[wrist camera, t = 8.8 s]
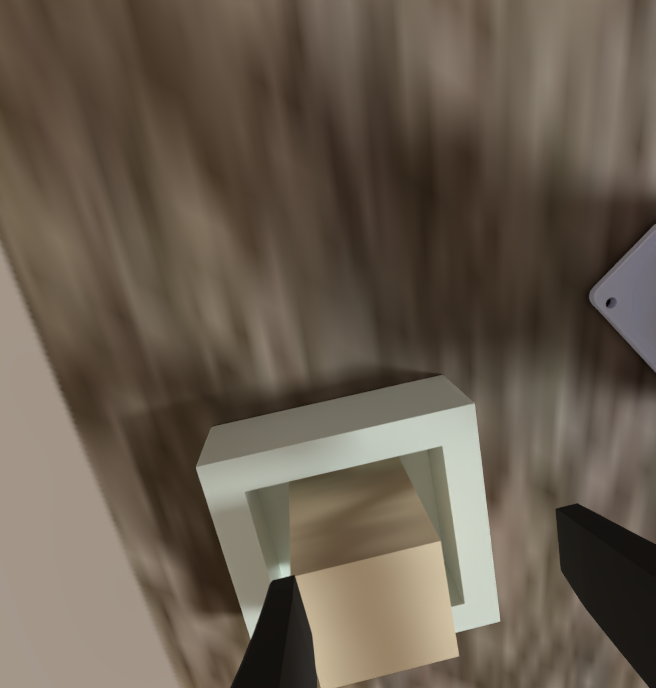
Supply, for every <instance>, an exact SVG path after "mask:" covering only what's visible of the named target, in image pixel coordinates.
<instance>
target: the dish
mask: <svg viewBox="0 0 656 688" xmlns="http://www.w3.org/2000/svg"><path fill="white" fill-rule="evenodd" d="M397 456H398V457H399V459H400V461H401V463H402V465H403V467H404V469H405V471H406V473H407V475H408V477H409V479H410V481H411V483H412V485H413V487H414V489H415V491H416V493H417V495H418V497H419V499H420V501H421V503H422V505H423V507H424V509H425V511H426V513H427V515H428V517H429V519H430V521H431V523H432V525H433V527H434V529H435V530H436V532H437V534H438V536H439V538H440V540H441V546H442V552H443V559H444V565H445V571H446V578H447V584H448V590H449V597H450V603H451V609H452V616H453V622H454V628H455V633H456V632H460V631H464V630H468V629H472V628H476V627H480V626H484V625H488V624H492V623H496V622H500V616H499V607H498V598H497V590H496V581H495V573H494V564H493V556H492V547H491V539H490V530H489V522H488V513H487V505H486V496H485V488H484V479H483V471H482V462H481V454H480V445H479V437H478V428H477V420H476V411H475V403H474V402H473V401H471V400H470V399H469V398H468V397H467V396H466V395H465V394H464V393H463V392H462V391H460V390H459V389H458V388H457V387H456V386H455V385H454V384H453V383H452V382H451V381H449V380H448V379H447V378H446V377H445V376H444V375H439V376H435V377H430V378H426V379H421V380H417V381H413V382H408V383H404V384H399V385H395V386H390V387H386V388H382V389H377V390H373V391H368V392H364V393H359V394H355V395H350V396H346V397H342V398H337V399H333V400H328V401H324V402H319V403H315V404H311V405H306V406H302V407H297V408H293V409H288V410H284V411H280V412H275V413H271V414H266V415H262V416H257V417H253V418H249V419H244V420H240V421H235V422H231V423H226V424H222V425H218V426H213V427H211V428H210V431H209V434H208V436H207V439H206V441H205V444H204V447H203V449H202V452H201V455H200V457H199V460H198V463H197V465H196V470H197V473H198V476H199V479H200V482H201V485H202V488H203V492H204V495H205V498H206V501H207V504H208V507H209V510H210V513H211V517H212V520H213V523H214V526H215V529H216V532H217V535H218V538H219V541H220V545H221V548H222V551H223V554H224V557H225V560H226V563H227V566H228V570H229V573H230V576H231V579H232V582H233V585H234V588H235V591H236V594H237V598H238V601H239V604H240V607H241V610H242V613H243V616H244V619H245V623H246V626H247V629H248V632H249V635H250V638H251V637H252V635H253V632H254V630H255V627H256V624H257V621H258V618H259V616H260V613H261V610H262V607H263V604H264V601H265V597H266V594H267V591H268V587H269V585H270V583H271V582H272V580H276V579H280V578H284V577H288V576H290V515H289V481H293V480H298V479H302V478H306V477H311V476H315V475H319V474H324V473H328V472H332V471H336V470H341V469H345V468H349V467H354V466H358V465H362V464H367V463H371V462H375V461H379V460H384V459H388V458H392V457H397Z"/></svg>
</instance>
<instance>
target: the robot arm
mask: <svg viewBox="0 0 656 688" xmlns="http://www.w3.org/2000/svg"><path fill="white" fill-rule="evenodd" d="M609 298H610V304H609V306H607V307H606V301H607V300H608V299H609ZM589 300H590V302H591V303H592V305H593V306H594V307H595V308H596V309H597V310H598V311H599V312H600V313H601V314H602V315H603V316H604V317H605V319H606V320H607V321H608V322H609V323H610V324H611V325H612V326H613V327H614V328H615V329H616V330H617V331H618V333H619V334H620V335H621V336H622V337H623V338H624V339H625V340H626V341H627V342H628V343H629V344H630V345H631V347H632V348H633V349H634V350H635V351H636V352H637V353H638V354H639V355H640V356H641V357H642V358H643V360H644V361H645V362H646V363H647V364H648V365H649V366H650V367H651V368H652V369H653V370H654V371H655V372H656V224H655V225H654V226H653V227H652V228H651V229H650V230H649V231H648V232H647V233H646V234H645V235H644V236H643V237H642V238H641V239H640V240H639V241H638V242H637V243H636V244H635V245H634V246H633V247H632V248H631V249H630V250H629V251H628V252H627V253H626V254H625V255H624V256H623V257H622V258H621V259H620V260H619V261H618V262H617V263H616V264H615V265H614V266H613V268H612V269H611V270H610V271H609V272H608V273H607V274H606V275H605V276H604V277H603V278H602V279H601V280H600V281H599V282H598V283H597V284H596V285H595V286H594V287H593V288H592V289H591V291H590V294H589ZM556 520H557V531H558V543H559V554H560V566H561V571H562V573H563V574H564V576H565V577H566V579H567V581H568V582H569V584H570V585H571V587H572V588H573V590H574V592H575V593H576V595H577V596H578V598H579V599H580V601H581V602H582V604H583V605H584V607H585V608H586V610H587V611H588V612H589V613H590V615H591V616H592V617H593V618H594V620H595V621H596V622H597V623H598V625H599V626H600V627H601V628H602V630H603V631H604V632H605V633H606V635H607V636H608V637H609V638H610V640H611V641H612V642H613V643H614V645H615V646H616V647H617V648H618V650H619V651H620V652H621V653H622V655H623V656H624V657H625V658H626V659H627V661H628V662H629V663H630V664H631V666H632V667H633V668H634V669H635V671H636V672H637V673H638V674H639V675H640V677H641V678H642V679H643V680H644V682H645V683H646V684H647V685H648V687H649V688H656V544H654V543H652V542H650V541H648V540H646V539H644V538H642V537H640V536H639V535H637V534H635V533H633V532H631V531H629V530H627V529H625V528H623V527H621V526H620V525H618V524H616V523H614V522H612V521H610V520H608V519H606V518H604V517H603V516H601V515H599V514H597V513H595V512H593V511H591V510H589V509H587V508H585V507H583V506H581V505H579V504H573V505H569V506H565V507H561V508H557V509H556ZM231 688H317V675H316V665H315V655H314V646H313V637H312V632H311V628H310V625H309V621H308V618H307V615H306V611H305V608H304V604H303V601H302V598H301V594H300V591H299V587H298V584H297V581H296V577H295V575H292V576H288V577H284V578H280V579H276V580H272V582H271V583H270V585H269V587H268V591H267V594H266V597H265V601H264V604H263V607H262V610H261V613H260V616H259V618H258V621H257V624H256V627H255V630H254V632H253V635H252V637H251V640H250V643H249V645H248V648H247V650H246V653H245V655H244V658H243V660H242V663H241V665H240V667H239V670H238V672H237V674H236V676H235V679H234V681H233V683H232V685H231Z"/></svg>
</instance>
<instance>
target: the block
mask: <svg viewBox="0 0 656 688" xmlns="http://www.w3.org/2000/svg"><path fill="white" fill-rule="evenodd" d="M289 515H290V576H292V575H295V577H296V581H297V584H298V587H299V591H300V594H301V598H302V601H303V604H304V608H305V611H306V615H307V618H308V621H309V625H310V628H311V632H312V637H313V646H314V655H315V665H316V671H317V675H318V678H319V682H320V686H321V688H336V687H340V686H344V685H348V684H352V683H356V682H360V681H364V680H367V679H371V678H375V677H379V676H383V675H387V674H391V673H395V672H399V671H403V670H407V669H410V668H414V667H418V666H422V665H426V664H430V663H434V662H438V661H442V660H446V659H450V658H454V657H457V656H459V654H458V647H457V641H456V635H455V628H454V622H453V616H452V609H451V603H450V597H449V590H448V584H447V578H446V571H445V565H444V559H443V552H442V546H441V540H440V538H439V536H438V534H437V532H436V530H435V529H434V527H433V525H432V523H431V521H430V519H429V517H428V515H427V513H426V511H425V509H424V507H423V505H422V503H421V501H420V499H419V497H418V495H417V493H416V491H415V489H414V487H413V485H412V483H411V481H410V479H409V477H408V475H407V473H406V471H405V469H404V467H403V465H402V463H401V461H400V459H399V457H398V456H397V457H392V458H388V459H384V460H379V461H375V462H371V463H367V464H362V465H358V466H354V467H349V468H345V469H341V470H336V471H332V472H328V473H324V474H319V475H315V476H311V477H306V478H302V479H298V480H293V481H289Z"/></svg>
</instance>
